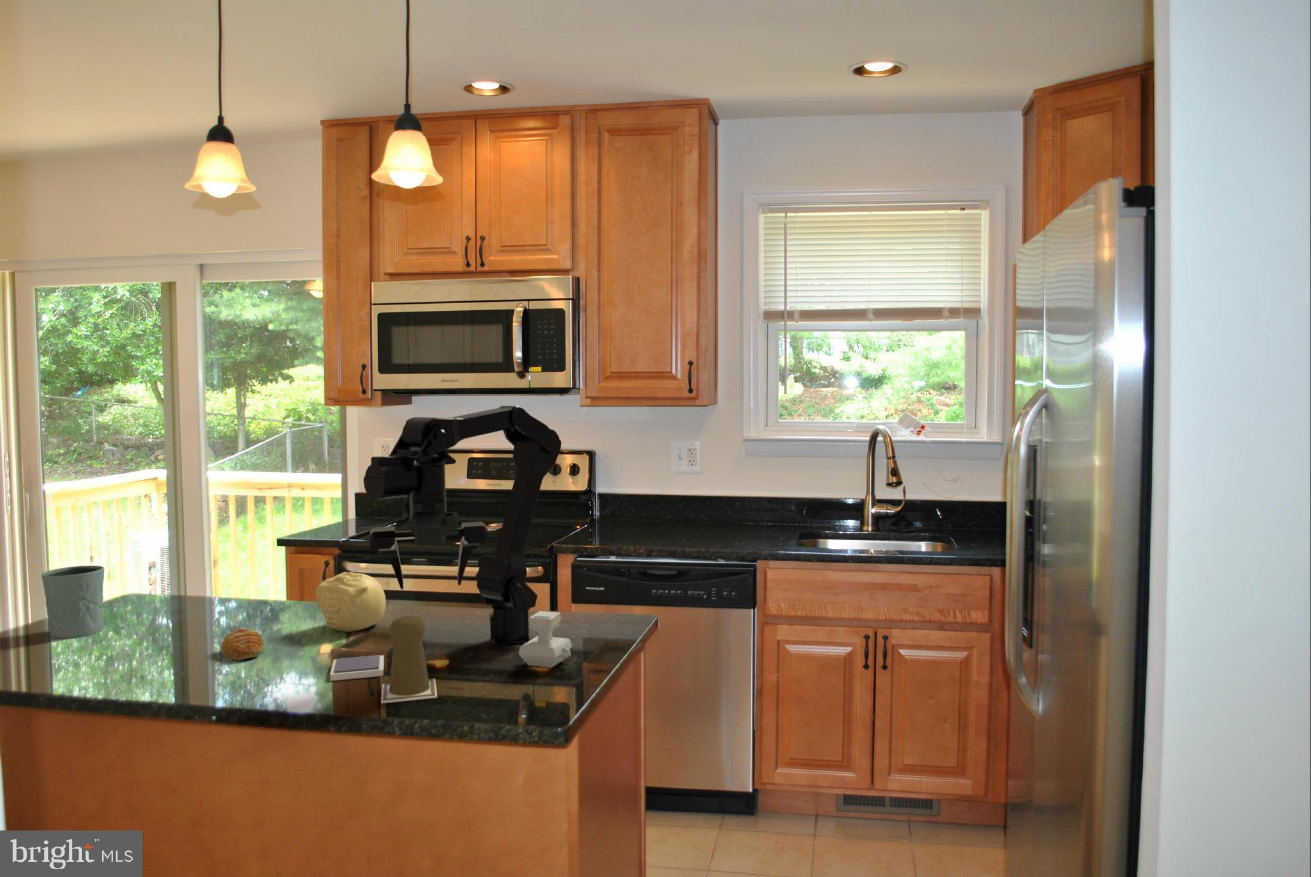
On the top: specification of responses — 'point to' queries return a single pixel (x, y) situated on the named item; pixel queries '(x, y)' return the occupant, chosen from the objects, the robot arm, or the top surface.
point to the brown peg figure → (408, 657)
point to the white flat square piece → (389, 697)
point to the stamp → (545, 641)
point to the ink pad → (357, 667)
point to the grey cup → (74, 601)
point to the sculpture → (351, 601)
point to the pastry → (242, 644)
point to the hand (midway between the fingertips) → (430, 586)
